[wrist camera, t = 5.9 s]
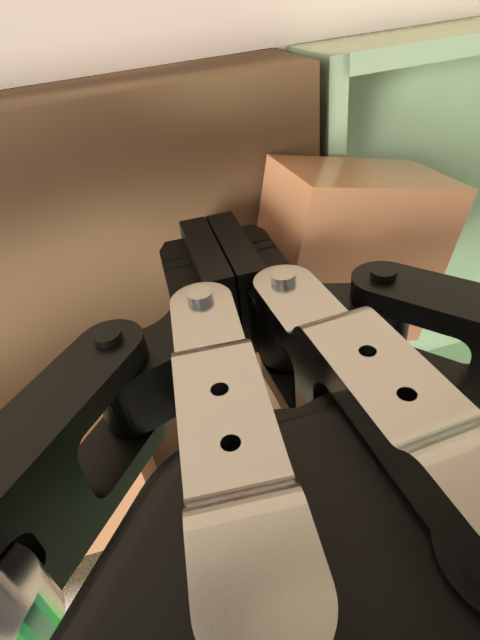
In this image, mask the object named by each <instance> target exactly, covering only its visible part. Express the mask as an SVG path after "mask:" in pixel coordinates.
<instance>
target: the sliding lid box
mask: <svg viewBox="0 0 480 640" xmlns="http://www.w3.org/2000/svg"><path fill="white" fill-rule="evenodd" d="M267 154H279V155H304V156H320V61H318V60H315V59H311V58H308V57H304V56H301V55H297V54H294V53H290V52H287V51H283V50H280V49H276V48H269V49H262V50H256V51H249V52H243V53H236V54H230V55H223V56H217V57H210V58H204V59H198V60H191V61H185V62H178V63H172V64H165V65H159V66H152V67H146V68H139V69H133V70H126V71H120V72H114V73H107V74H101V75H94V76H88V77H81V78H75V79H68V80H62V81H55V82H49V83H43V84H36V85H30V86H23V87H17V88H10V89H4V90H0V410H1V409H2V408H3V407H4V406H5V405H6V404H7V403H8V402H9V401H10V400H11V399H13V398H14V397H15V396H16V395H17V394H18V393H19V392H20V391H21V390H22V389H23V388H24V387H25V386H26V385H28V384H29V383H30V382H31V381H32V380H33V379H34V378H35V377H36V376H37V375H38V374H39V373H40V372H41V371H42V370H44V369H45V368H46V367H47V366H48V365H49V364H50V363H51V362H52V361H53V360H54V359H55V358H56V357H57V356H59V355H60V354H61V353H62V352H63V351H64V350H65V349H66V348H67V347H68V346H69V345H70V344H71V343H72V342H73V341H75V340H76V339H77V338H78V337H79V336H80V335H81V334H82V333H83V332H84V331H86V330H87V329H89V328H90V327H92V326H94V325H96V324H98V323H101V322H104V321H108V320H113V319H127V320H131V321H134V322H136V323H137V324H139V325H140V326H141V328H142V329H143V328H145V327H148V326H150V325H152V324H154V323H156V322H157V321H159V320H160V319H161V318H163V317H164V316H165V315H166V314H167V313H168V311H169V310H170V297H169V292H168V288H167V284H166V279H165V275H164V271H163V266H162V262H161V258H160V253H159V251H160V249H161V248H162V246H163V244H164V242H167V241H172V240H177V239H181V232H180V227H179V221H183V220H188V219H193V218H198V217H203V216H204V217H206V216H208V215H213V214H218V213H223V212H228V211H232V213H233V214H234V216H235V218H236V219H237V221H238V222H239V224H240V225H241V226H244V225H249V224H254V225H256V226H257V221H258V214H259V207H260V200H261V193H262V186H263V178H264V171H265V164H266V157H267ZM255 355H256V358H257V361H258V364H259V367H260V370H261V373H262V369H261V359H260V355H259V353H258V352H256V353H255ZM262 377H263V375H262ZM263 380H264V383H265V386H266V389H267V392H268V395H269V398H270V401H271V404H272V408H273V409H282V408H281V407H280V405H279V403H278V401H277V400H276V398H275V396H274V394H273V393H272V391H271V389H270V387H269V386H268V384H267V382H266V380H265V379H264V377H263ZM178 450H179V440H178V429H177V418H176V417H175V418H173V419H171V420H170V421H169V429H168V432H167V434H166V436H165V437H164V439H163V440H162V442H161V443H160V445H159V446H158V448H157V449H156V451H155V452H154V454H153V458H154V461H155V464H156V467H157V468H158V467H159V466H160V465H161V464H162V463H163V462H164V461H165V460H166V459H167V458H168V457H170V456H171V455H172V454H173V453H175V452H176V451H178Z"/></svg>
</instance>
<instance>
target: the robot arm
mask: <svg viewBox="0 0 480 640" xmlns="http://www.w3.org/2000/svg"><path fill="white" fill-rule="evenodd" d="M179 227H180V232H181V239H177V240H172V241H167V242H164V244H163V246H162V248H161V249H160V251H159V253H160V258H161V262H162V266H163V271H164V275H165V279H166V284H167V288H168V292H169V297H170V310H169V311H168V313H167V314H166V315H165V316H164V317H163V318H161V319H160V320H159V321H157V322H156V323H154V324H152V325H150V326H148V327H145V328H143V329H142V328H141V326H140V325H139V324H137V323H136V322H134V321H131V320H127V319H113V320H108V321H104V322H101V323H98V324H96V325H94V326H92V327H90V328H89V329H87V330H86V331H84V332H83V333H82V334H81V335H80V336H79V337H78V338H77V339H76V340H75V341H73V342H72V343H71V344H70V345H69V346H68V347H67V348H66V349H65V350H64V351H63V352H62V353H61V354H60V355H59V356H57V357H56V358H55V359H54V360H53V361H52V362H51V363H50V364H49V365H48V366H47V367H46V368H45V369H44V370H42V371H41V372H40V373H39V374H38V375H37V376H36V377H35V378H34V379H33V380H32V381H31V382H30V383H29V384H28V385H26V386H25V387H24V388H23V389H22V390H21V391H20V392H19V393H18V394H17V395H16V396H15V397H14V398H13V399H11V400H10V401H9V402H8V403H7V404H6V405H5V406H4V407H3V408H2V409H1V410H0V640H480V282H475V281H471V280H467V279H463V278H459V277H454V276H450V275H446V274H442V273H438V272H434V271H429V270H425V269H421V268H417V267H413V266H408V265H404V264H400V263H396V262H391V261H372V262H367V263H364V264H361V265H359V266H357V267H356V268H355V269H354V270H353V271H352V274H351V283H321V282H320V281H319V280H318V279H317V278H316V277H315V276H314V275H313V274H312V273H311V272H310V271H309V270H307V269H306V268H303V267H300V266H297V265H290V263H289V262H288V261H287V259H286V258H285V257H284V255H283V254H282V253H281V251H280V250H279V248H278V247H276V244H275V243H274V242H273V240H271V238H270V236H269V235H268V233H267V232H266V231H265V230H264V229H262V228H260V227H258V226H256V225H254V224H249V225H244V226H241V225H240V224H239V222H238V221H237V219H236V218H235V216H234V214H233V213H232V211H228V212H223V213H218V214H213V215H208V216H206V217H204V216H203V217H198V218H193V219H188V220H183V221H179ZM409 324H410V325H414V326H417V327H420V328H423V329H427V330H430V331H433V332H436V333H440V334H443V335H446V336H449V337H453V338H456V339H458V340H460V341H462V342H463V343H465V344H466V345H467V346H468V348H469V349H470V351H471V361H470V364H464V363H460V362H457V361H454V360H451V359H448V358H445V357H442V356H439V355H436V354H433V353H430V352H427V351H424V350H421V349H418V348H415V347H413V346H412V345H411V344H410V343H409V342H408V341H407V336H408V330H409ZM256 352H258V353H259V355H260V359H261V369H262V373H261V370H260V367H259V364H258V361H257V358H256V355H255V353H256ZM262 375H263V377H264V379H265V380H266V382H267V384H268V386H269V387H270V389H271V391H272V393H273V394H274V396H275V398H276V400H277V401H278V403H279V405H280V407H281V408H282V409H273V408H272V404H271V401H270V398H269V395H268V392H267V389H266V386H265V383H264V380H263V377H262ZM102 414H103V417H102V419H101V420H100V421H99V422H98V423H97V425H96V426H95V427H94V428H93V429H92V431H91V432H90V433H89V434H88V435H87V437H86V438H85V439H84V440H83V441H82V443H81V444H80V442H81V440H82V438H83V437H84V435H85V434H86V433H87V432H88V430H89V429H90V428H91V427H92V426H93V424H94V423H95V422H96V421H97V420H98V419H99V417H100V416H101V415H102ZM175 417H176V418H177V429H178V440H179V450H178V451H176V452H175V453H173V454H172V455H171V456H170V457H168V458H167V459H166V460H165V461H164V462H163V463H162V464H161V465H160V466H159V467H158V468H157V469H156V470H155V471H154V472H153V473H152V474H151V476H150V477H149V478H148V479H147V481H146V482H145V484H144V485H143V487H142V488H141V490H140V491H139V493H138V495H137V496H136V498H135V500H134V501H133V503H132V504H131V506H130V508H129V509H128V511H127V513H126V514H125V516H124V518H123V519H122V521H121V523H120V524H119V526H118V528H117V529H116V531H115V532H114V534H113V536H112V537H111V539H110V541H109V542H108V544H107V546H106V547H105V549H104V551H103V552H102V554H101V555H100V557H99V559H98V560H97V562H96V564H95V565H94V567H93V569H92V570H91V572H90V574H89V575H88V577H87V579H86V580H85V582H84V583H83V585H82V587H81V588H80V590H79V592H78V593H77V595H76V597H75V598H74V600H73V602H72V603H71V605H70V606H69V608H68V610H67V611H66V613H65V601H64V596H63V593H62V591H61V590H62V589H63V587H64V586H65V584H66V583H67V581H68V580H69V578H70V577H71V575H72V574H73V572H74V571H75V569H76V568H77V567H78V565H79V564H80V562H81V561H82V559H83V558H84V556H85V555H86V553H87V552H88V550H89V549H90V547H91V546H92V544H93V543H94V541H95V540H96V538H97V537H98V535H99V534H100V532H101V531H102V529H103V528H104V526H105V525H106V523H107V522H108V520H109V519H110V517H111V516H112V514H113V513H114V512H115V510H116V509H117V507H118V506H119V504H120V503H121V501H122V500H123V498H124V497H125V495H126V494H127V492H128V491H129V489H130V488H131V486H132V485H133V483H134V482H135V480H136V479H137V477H138V476H139V474H140V473H141V471H142V470H143V468H144V467H145V465H146V464H147V462H148V461H149V459H150V458H151V457H152V455H153V454H154V452H155V451H156V449H157V448H158V446H159V445H160V443H161V442H162V440H163V439H164V437H165V436H166V434H167V432H168V429H169V421H170V420H171V419H173V418H175ZM64 614H65V615H64Z"/></svg>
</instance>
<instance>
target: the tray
mask: <svg viewBox="0 0 480 640" xmlns="http://www.w3.org/2000/svg"><path fill="white" fill-rule="evenodd" d="M288 52H290V53H294V54H297V55H301V56H304V57H308V58H311V59H315V60H318V61H320V156H330V157H355V158H380V159H405V160H412V161H415V162H417V163H419V164H421V165H424V166H426V167H428V168H430V169H433V170H435V171H437V172H439V173H442V174H444V175H446V176H448V177H451V178H453V179H455V180H457V181H460V182H462V183H464V184H466V185H469V186H471V187H473V188H475V189H478V191H477V194H476V196H475V199H474V201H473V204H472V206H471V209H470V211H469V214H468V216H467V219H466V221H465V224H464V226H463V229H462V231H461V234H460V236H459V239H458V241H457V244H456V246H455V249H454V251H453V254H452V256H451V259H450V261H449V264H448V266H447V269H446V271H445V274H446V275H450V276H454V277H459V278H463V279H467V280H471V281H475V282H480V16H475V17H469V18H462V19H456V20H449V21H443V22H436V23H430V24H424V25H417V26H411V27H404V28H398V29H391V30H385V31H378V32H372V33H365V34H359V35H353V36H346V37H340V38H333V39H327V40H320V41H314V42H307V43H301V44H294V45H288ZM408 342H409V343H410V344H411V345H412V346H413V347H415V348H418V349H421V350H424V351H427V352H430V353H433V354H436V355H439V356H442V357H445V358H448V359H451V360H454V361H457V362H460V363H464V364H470V361H471V351H470V349H469V348H468V346H467V345H466V344H465V343H463V342H462V341H460V340H458V339H456V338H453V337H449V336H446V335H443V334H440V333H436V332H433V331H430V330H427V329H422V331H421V334H420V336H419V339H418V340H414V341H408Z"/></svg>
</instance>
